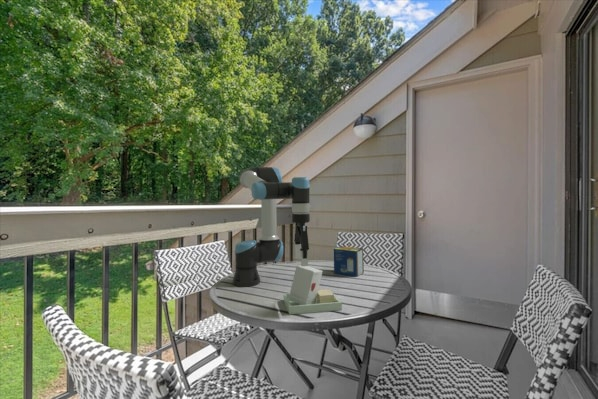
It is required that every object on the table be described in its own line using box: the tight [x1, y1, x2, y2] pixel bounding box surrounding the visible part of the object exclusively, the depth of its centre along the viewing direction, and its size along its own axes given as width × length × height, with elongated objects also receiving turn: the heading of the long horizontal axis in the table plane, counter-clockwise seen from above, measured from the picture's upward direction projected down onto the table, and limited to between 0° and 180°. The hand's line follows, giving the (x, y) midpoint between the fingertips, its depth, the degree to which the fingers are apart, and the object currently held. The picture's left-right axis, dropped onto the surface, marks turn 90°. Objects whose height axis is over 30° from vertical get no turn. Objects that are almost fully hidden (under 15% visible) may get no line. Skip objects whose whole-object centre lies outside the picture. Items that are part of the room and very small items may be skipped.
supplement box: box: [288, 265, 323, 305], centre depth 135 cm, size 9×9×15 cm
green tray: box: [283, 292, 343, 315], centre depth 135 cm, size 17×22×4 cm
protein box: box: [333, 245, 365, 278], centre depth 191 cm, size 10×15×16 cm
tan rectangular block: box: [316, 288, 335, 304], centre depth 137 cm, size 8×6×5 cm
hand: (301, 262), depth 135 cm, fingers open, 13 cm apart
